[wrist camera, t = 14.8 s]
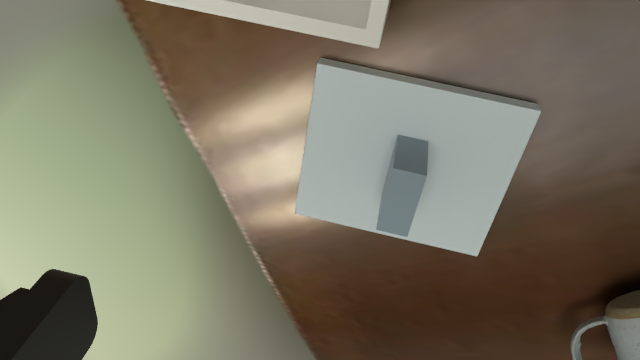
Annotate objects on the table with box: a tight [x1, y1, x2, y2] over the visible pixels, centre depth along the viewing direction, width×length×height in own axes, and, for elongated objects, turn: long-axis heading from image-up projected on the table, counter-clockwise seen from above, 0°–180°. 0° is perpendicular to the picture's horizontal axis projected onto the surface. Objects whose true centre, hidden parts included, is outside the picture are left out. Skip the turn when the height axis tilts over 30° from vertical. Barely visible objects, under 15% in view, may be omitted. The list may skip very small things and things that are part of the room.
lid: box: [295, 57, 541, 256], centre depth 43 cm, size 17×15×7 cm
